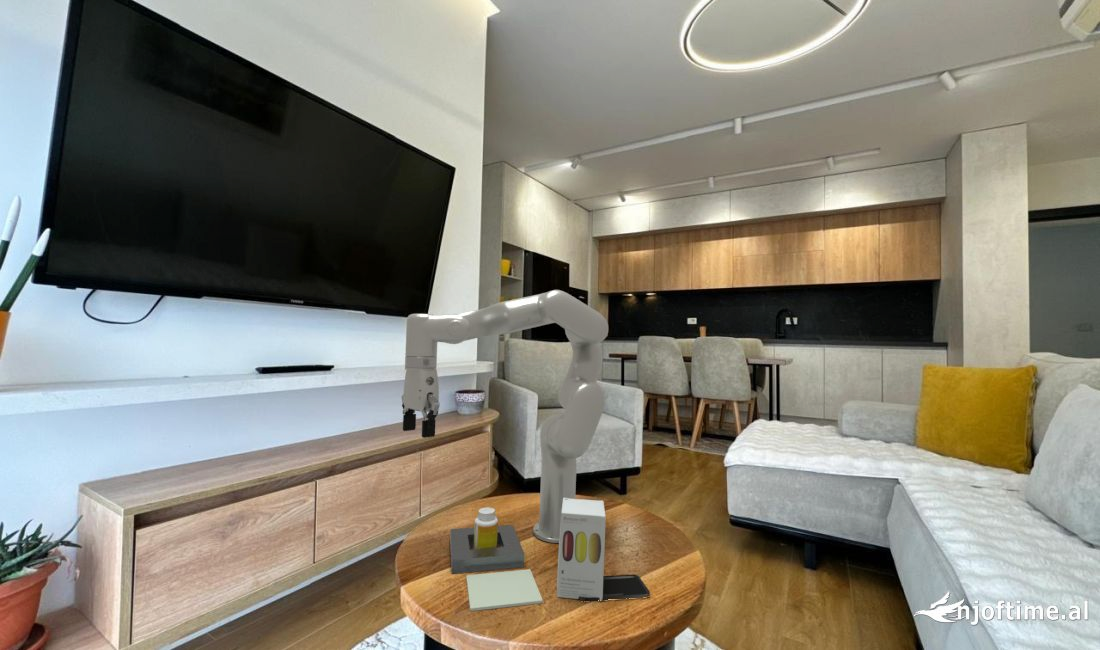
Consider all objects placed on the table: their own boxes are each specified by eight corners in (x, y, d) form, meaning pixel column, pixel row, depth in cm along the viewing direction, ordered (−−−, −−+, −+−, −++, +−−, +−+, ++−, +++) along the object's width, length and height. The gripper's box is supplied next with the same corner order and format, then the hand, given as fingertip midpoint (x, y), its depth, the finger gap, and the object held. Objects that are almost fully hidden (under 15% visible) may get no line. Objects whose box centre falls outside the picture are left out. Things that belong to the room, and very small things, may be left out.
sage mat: (530, 571, 96) (530, 569, 96) (542, 603, 84) (542, 600, 84) (466, 577, 93) (466, 575, 93) (470, 611, 81) (470, 608, 81)
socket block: (512, 536, 113) (512, 524, 113) (524, 567, 98) (524, 553, 98) (449, 541, 109) (450, 529, 109) (451, 574, 94) (452, 559, 94)
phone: (571, 577, 93) (637, 574, 95) (571, 583, 93) (637, 579, 95) (579, 599, 85) (651, 594, 87) (579, 605, 85) (651, 600, 87)
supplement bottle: (501, 555, 103) (502, 511, 104) (480, 561, 100) (482, 516, 100) (488, 546, 107) (490, 504, 108) (468, 552, 104) (470, 509, 104)
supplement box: (556, 598, 86) (559, 512, 87) (558, 574, 95) (561, 496, 96) (604, 602, 86) (606, 515, 86) (601, 577, 95) (604, 499, 96)
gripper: (453, 365, 103) (450, 437, 102) (418, 362, 115) (415, 426, 115) (424, 365, 98) (421, 442, 97) (391, 362, 110) (388, 429, 109)
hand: (418, 433), depth 106 cm, fingers open, 9 cm apart
